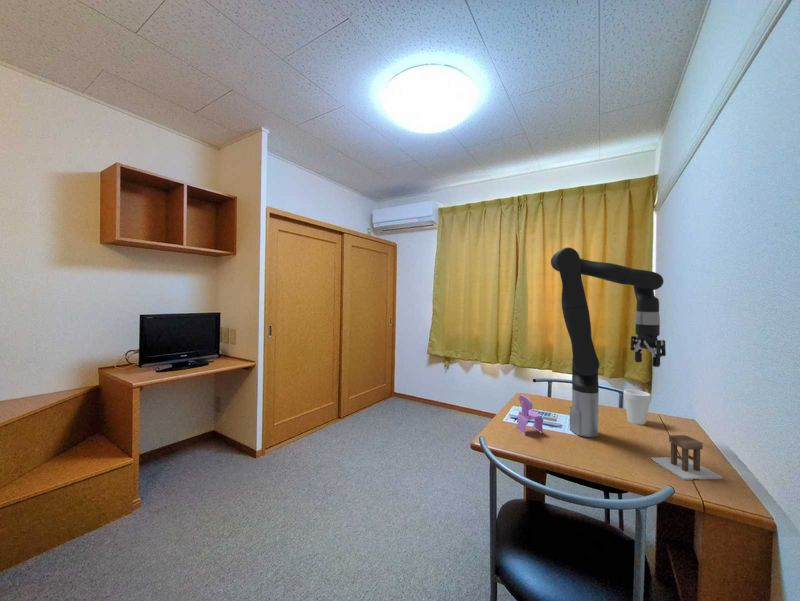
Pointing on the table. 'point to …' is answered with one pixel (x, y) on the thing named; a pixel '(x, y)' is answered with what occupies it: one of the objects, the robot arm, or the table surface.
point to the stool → (685, 451)
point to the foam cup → (637, 405)
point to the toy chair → (528, 415)
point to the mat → (688, 474)
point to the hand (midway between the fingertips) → (646, 364)
